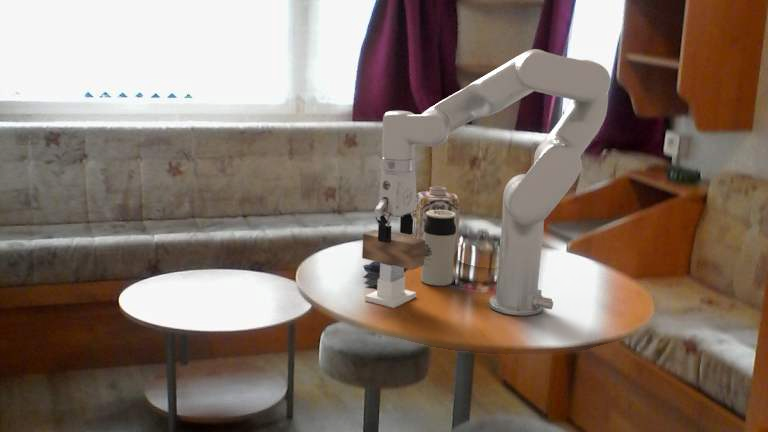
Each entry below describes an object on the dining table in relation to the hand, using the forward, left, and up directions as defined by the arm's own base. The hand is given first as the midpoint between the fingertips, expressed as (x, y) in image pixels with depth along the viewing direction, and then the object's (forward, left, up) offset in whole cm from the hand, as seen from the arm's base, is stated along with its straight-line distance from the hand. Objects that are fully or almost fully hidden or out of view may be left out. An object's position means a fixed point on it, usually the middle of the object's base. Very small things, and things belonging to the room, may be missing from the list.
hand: (395, 237), depth 204 cm
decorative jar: (+14, -47, -15) cm, 51 cm away
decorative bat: (+12, -14, -15) cm, 24 cm away
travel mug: (-2, -19, -15) cm, 24 cm away
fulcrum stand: (0, 0, -15) cm, 15 cm away
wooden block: (0, 0, -6) cm, 6 cm away
